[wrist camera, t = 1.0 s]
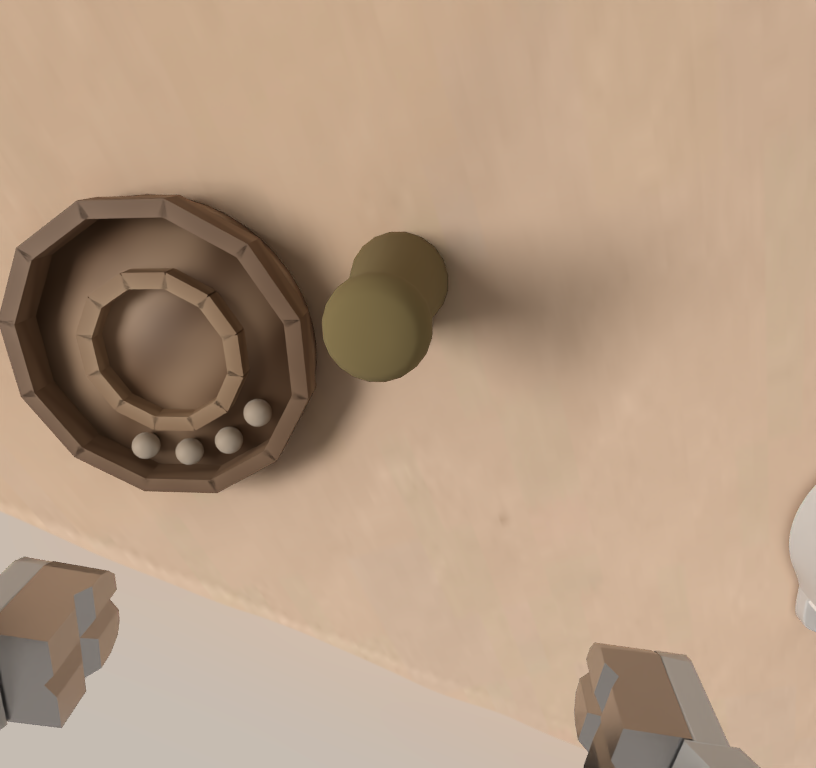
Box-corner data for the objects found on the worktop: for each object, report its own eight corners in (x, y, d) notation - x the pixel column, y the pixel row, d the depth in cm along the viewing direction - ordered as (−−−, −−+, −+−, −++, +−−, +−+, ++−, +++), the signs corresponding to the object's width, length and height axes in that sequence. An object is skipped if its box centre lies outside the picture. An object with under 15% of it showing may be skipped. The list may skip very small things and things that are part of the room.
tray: (366, 291, 37) (357, 304, 34) (252, 511, 44) (237, 536, 42) (78, 133, 35) (44, 133, 32) (7, 390, 42) (-25, 409, 40)
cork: (455, 322, 37) (449, 392, 27) (361, 335, 38) (322, 408, 28) (440, 223, 35) (427, 260, 25) (340, 240, 36) (290, 282, 26)
